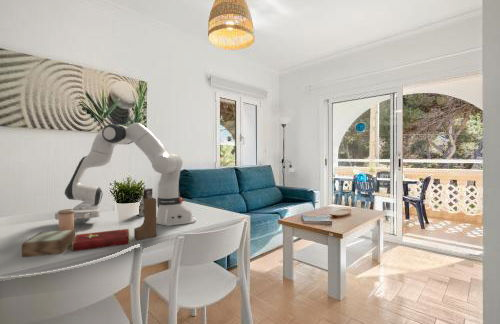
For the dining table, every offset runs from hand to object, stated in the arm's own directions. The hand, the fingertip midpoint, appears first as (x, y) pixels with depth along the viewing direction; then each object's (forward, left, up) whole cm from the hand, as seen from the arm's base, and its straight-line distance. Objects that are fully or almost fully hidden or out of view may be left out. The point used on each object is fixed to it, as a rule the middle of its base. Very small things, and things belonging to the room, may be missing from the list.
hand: (73, 217), depth 133 cm
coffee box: (-31, -27, -7) cm, 42 cm away
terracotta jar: (0, +9, -7) cm, 11 cm away
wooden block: (-36, +21, -7) cm, 42 cm away
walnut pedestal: (0, +26, -6) cm, 27 cm away
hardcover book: (-19, +24, -7) cm, 32 cm away
